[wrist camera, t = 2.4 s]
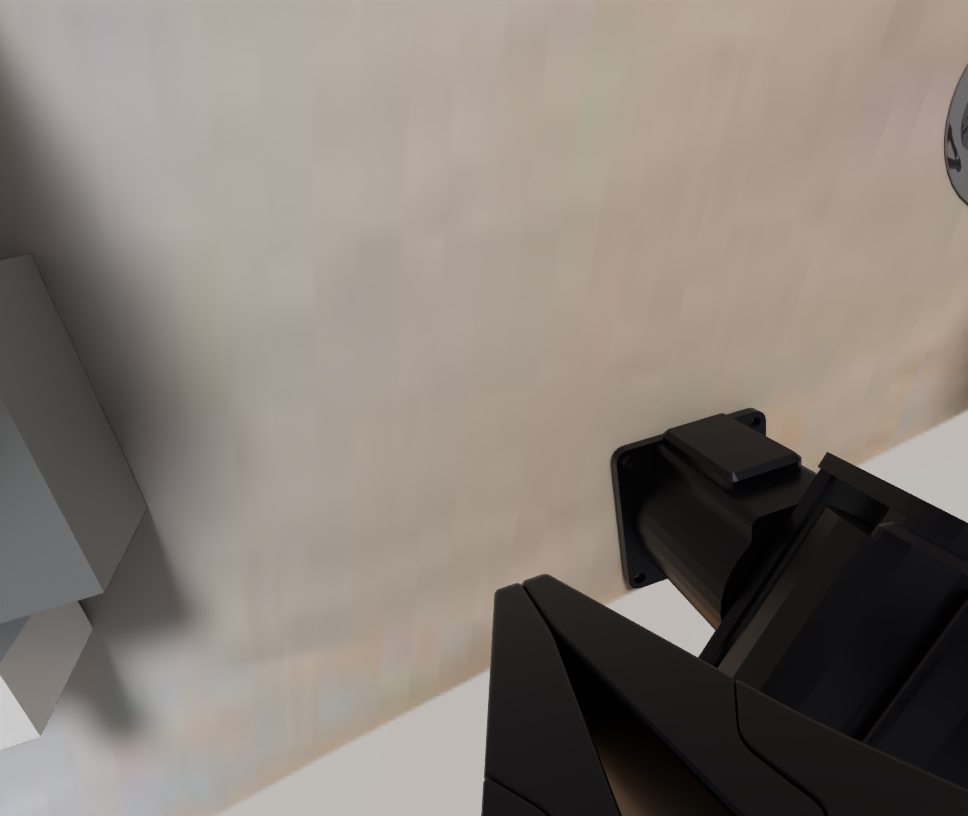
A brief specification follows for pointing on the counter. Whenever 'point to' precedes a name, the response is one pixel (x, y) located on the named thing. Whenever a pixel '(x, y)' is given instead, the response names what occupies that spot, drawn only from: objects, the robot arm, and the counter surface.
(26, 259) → the sliding door box
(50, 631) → the side door
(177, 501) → the counter surface
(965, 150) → the wine glass
